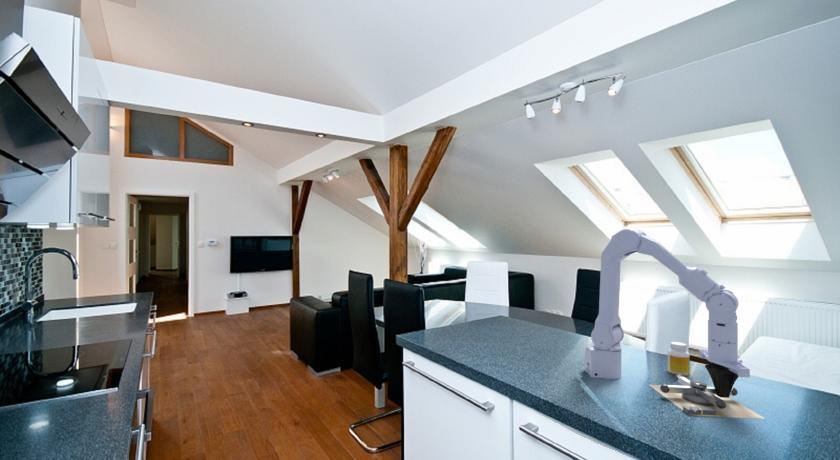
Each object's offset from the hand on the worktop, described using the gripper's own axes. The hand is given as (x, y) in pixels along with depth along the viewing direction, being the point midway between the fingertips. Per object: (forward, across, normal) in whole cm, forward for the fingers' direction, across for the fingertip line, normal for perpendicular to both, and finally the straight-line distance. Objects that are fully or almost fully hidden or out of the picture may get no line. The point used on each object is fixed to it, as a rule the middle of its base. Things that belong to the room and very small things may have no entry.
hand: (722, 396), depth 93 cm
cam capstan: (+1, +2, +4) cm, 5 cm away
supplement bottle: (+3, +21, -2) cm, 21 cm away
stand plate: (+3, +1, +4) cm, 5 cm away
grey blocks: (+1, -7, +10) cm, 12 cm away
